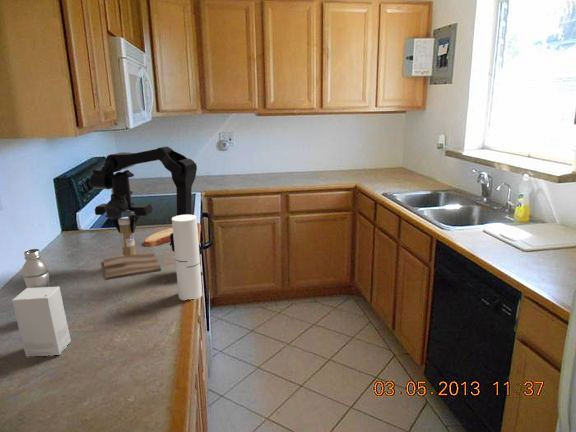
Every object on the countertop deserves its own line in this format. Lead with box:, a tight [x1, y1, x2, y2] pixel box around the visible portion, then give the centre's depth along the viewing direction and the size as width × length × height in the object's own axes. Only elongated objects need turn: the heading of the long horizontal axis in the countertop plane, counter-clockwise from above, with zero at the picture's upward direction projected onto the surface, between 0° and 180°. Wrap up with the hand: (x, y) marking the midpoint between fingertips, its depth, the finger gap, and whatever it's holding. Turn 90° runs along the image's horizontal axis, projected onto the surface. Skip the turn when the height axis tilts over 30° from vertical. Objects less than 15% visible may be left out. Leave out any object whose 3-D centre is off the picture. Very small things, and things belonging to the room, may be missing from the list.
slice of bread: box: [142, 227, 173, 248], centre depth 183 cm, size 18×18×4 cm
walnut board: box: [103, 251, 162, 281], centre depth 154 cm, size 18×18×1 cm
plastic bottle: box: [21, 248, 51, 288], centre depth 115 cm, size 6×7×20 cm
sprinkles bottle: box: [118, 216, 137, 256], centre depth 151 cm, size 5×5×13 cm
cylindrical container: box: [171, 214, 203, 301], centre depth 128 cm, size 7×7×25 cm
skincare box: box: [11, 286, 72, 357], centre depth 101 cm, size 8×7×16 cm
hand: (126, 232), depth 150 cm, fingers closed on sprinkles bottle, 4 cm apart
